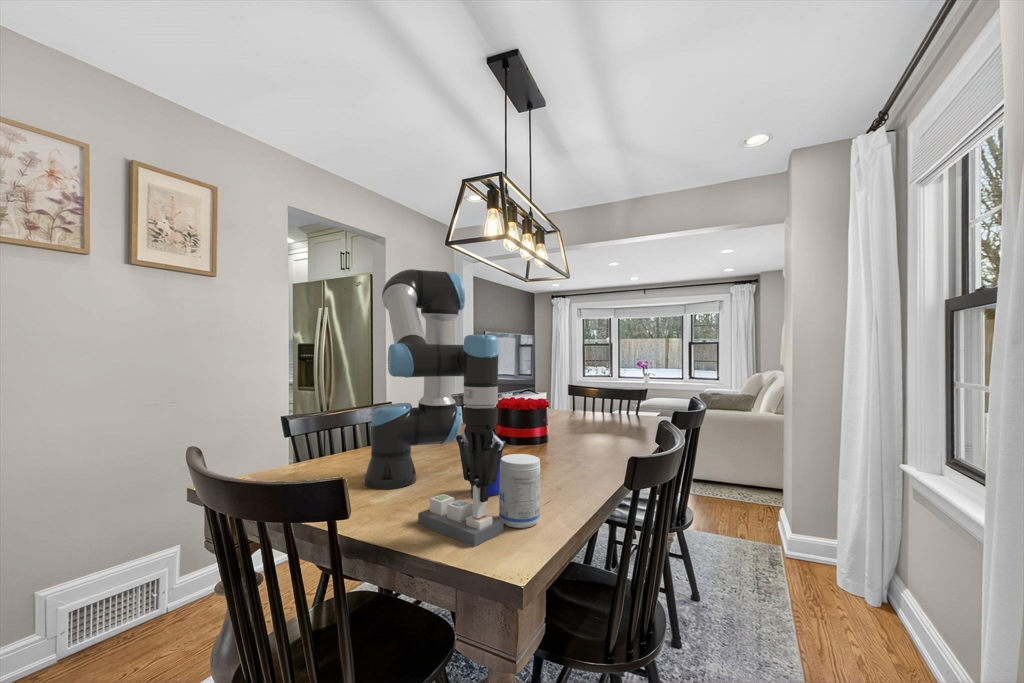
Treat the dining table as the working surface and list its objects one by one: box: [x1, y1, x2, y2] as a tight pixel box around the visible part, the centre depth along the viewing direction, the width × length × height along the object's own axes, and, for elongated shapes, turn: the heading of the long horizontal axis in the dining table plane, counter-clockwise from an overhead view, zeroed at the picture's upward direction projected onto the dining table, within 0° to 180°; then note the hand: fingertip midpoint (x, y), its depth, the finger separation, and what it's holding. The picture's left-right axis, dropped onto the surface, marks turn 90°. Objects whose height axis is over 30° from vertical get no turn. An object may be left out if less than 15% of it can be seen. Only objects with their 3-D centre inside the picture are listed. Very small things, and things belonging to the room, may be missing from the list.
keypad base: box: [417, 508, 504, 547], centre depth 97 cm, size 18×9×2 cm, turn 51°
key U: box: [447, 499, 473, 523], centre depth 97 cm, size 4×4×3 cm
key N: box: [429, 494, 455, 516], centre depth 100 cm, size 4×4×3 cm
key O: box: [466, 514, 493, 530], centre depth 93 cm, size 4×4×3 cm
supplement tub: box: [498, 453, 541, 529], centre depth 101 cm, size 10×10×15 cm
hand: (479, 515), depth 93 cm, fingers closed
